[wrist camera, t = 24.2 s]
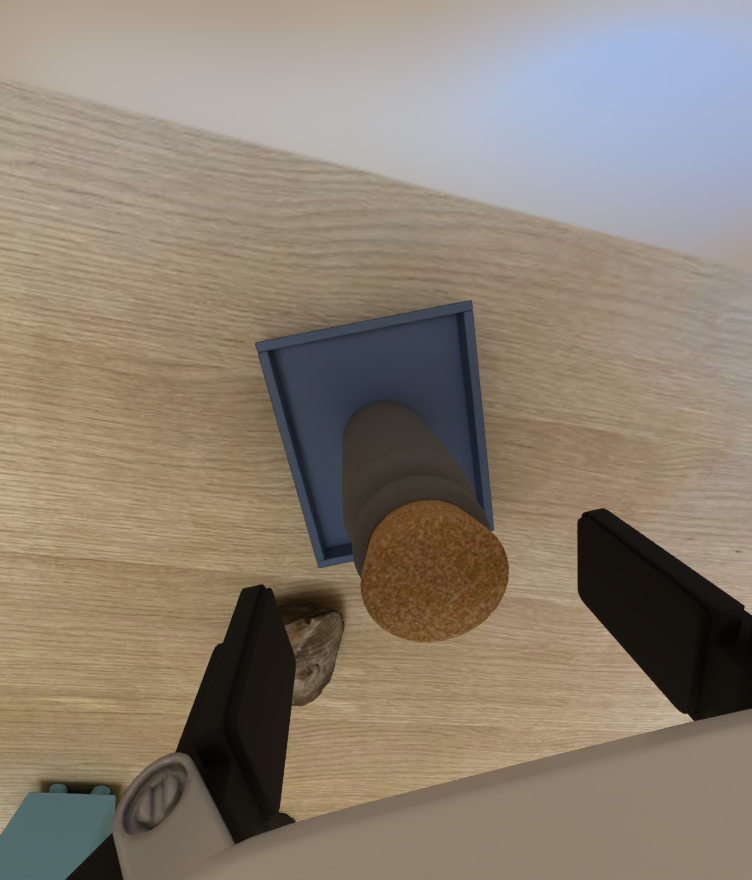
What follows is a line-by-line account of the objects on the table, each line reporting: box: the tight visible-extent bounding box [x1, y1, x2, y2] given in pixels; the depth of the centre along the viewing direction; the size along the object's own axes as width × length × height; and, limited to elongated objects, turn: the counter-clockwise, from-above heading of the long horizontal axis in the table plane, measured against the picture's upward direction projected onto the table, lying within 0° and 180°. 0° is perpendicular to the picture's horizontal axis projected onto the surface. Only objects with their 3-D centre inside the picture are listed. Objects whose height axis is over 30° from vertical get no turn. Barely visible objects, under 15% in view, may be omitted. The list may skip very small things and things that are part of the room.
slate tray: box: [255, 300, 494, 568], centre depth 25 cm, size 16×13×2 cm
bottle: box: [342, 400, 509, 642], centre depth 18 cm, size 6×6×15 cm
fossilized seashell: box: [278, 603, 344, 706], centre depth 28 cm, size 8×7×10 cm
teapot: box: [0, 784, 116, 880], centre depth 31 cm, size 12×6×8 cm, turn 77°
